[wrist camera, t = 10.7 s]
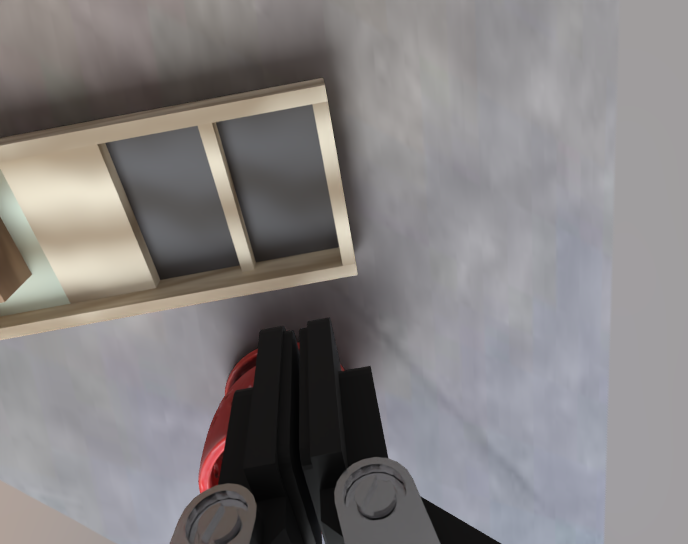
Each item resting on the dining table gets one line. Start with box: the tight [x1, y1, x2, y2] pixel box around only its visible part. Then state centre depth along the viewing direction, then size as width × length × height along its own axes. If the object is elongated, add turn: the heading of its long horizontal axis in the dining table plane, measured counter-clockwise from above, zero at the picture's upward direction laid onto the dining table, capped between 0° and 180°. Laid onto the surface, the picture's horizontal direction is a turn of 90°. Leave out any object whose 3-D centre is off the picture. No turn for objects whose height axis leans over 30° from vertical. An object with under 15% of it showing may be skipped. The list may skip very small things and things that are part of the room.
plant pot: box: [198, 342, 345, 494], centre depth 42 cm, size 13×13×12 cm
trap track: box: [0, 78, 358, 340], centre depth 36 cm, size 14×32×4 cm, turn 99°
